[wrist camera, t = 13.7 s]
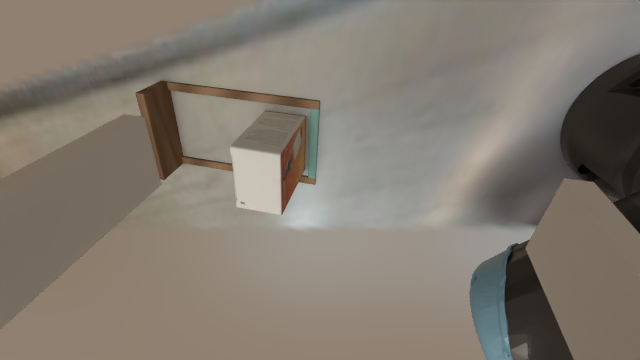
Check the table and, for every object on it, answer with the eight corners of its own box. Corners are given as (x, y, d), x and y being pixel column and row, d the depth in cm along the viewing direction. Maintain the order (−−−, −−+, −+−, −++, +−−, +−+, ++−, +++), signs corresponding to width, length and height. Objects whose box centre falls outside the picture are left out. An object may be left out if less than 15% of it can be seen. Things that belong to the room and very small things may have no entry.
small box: (305, 169, 45) (282, 217, 37) (266, 163, 46) (235, 208, 38) (307, 115, 41) (281, 154, 32) (264, 109, 42) (228, 146, 33)
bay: (320, 100, 40) (310, 116, 36) (315, 183, 46) (306, 204, 42) (161, 80, 43) (135, 92, 39) (178, 161, 49) (157, 178, 45)
